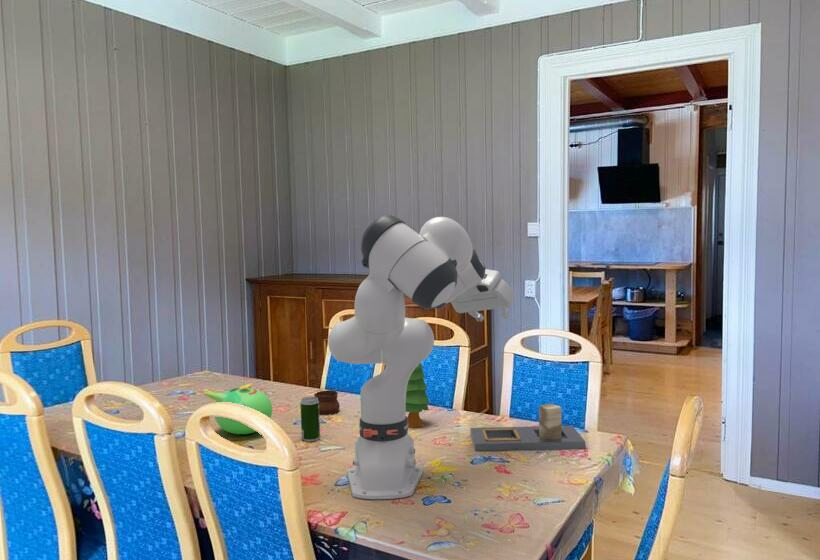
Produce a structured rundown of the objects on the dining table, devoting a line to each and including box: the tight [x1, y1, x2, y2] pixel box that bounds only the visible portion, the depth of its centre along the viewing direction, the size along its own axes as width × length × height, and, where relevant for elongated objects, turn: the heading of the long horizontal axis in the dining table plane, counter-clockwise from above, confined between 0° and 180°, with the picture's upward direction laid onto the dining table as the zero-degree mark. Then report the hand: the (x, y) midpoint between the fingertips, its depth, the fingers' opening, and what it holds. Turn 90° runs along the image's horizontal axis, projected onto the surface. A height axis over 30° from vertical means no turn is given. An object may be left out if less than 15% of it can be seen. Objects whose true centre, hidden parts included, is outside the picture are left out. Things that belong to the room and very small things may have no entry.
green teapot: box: [203, 383, 273, 435], centre depth 191 cm, size 18×17×15 cm
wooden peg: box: [538, 402, 563, 439], centre depth 178 cm, size 4×4×10 cm
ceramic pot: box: [313, 389, 340, 416], centre depth 213 cm, size 18×18×7 cm
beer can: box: [299, 396, 321, 443], centre depth 184 cm, size 5×5×12 cm
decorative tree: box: [406, 362, 430, 428], centre depth 195 cm, size 10×9×30 cm
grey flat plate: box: [470, 425, 586, 452], centre depth 178 cm, size 14×30×2 cm, turn 90°
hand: (494, 318), depth 181 cm, fingers open, 8 cm apart
